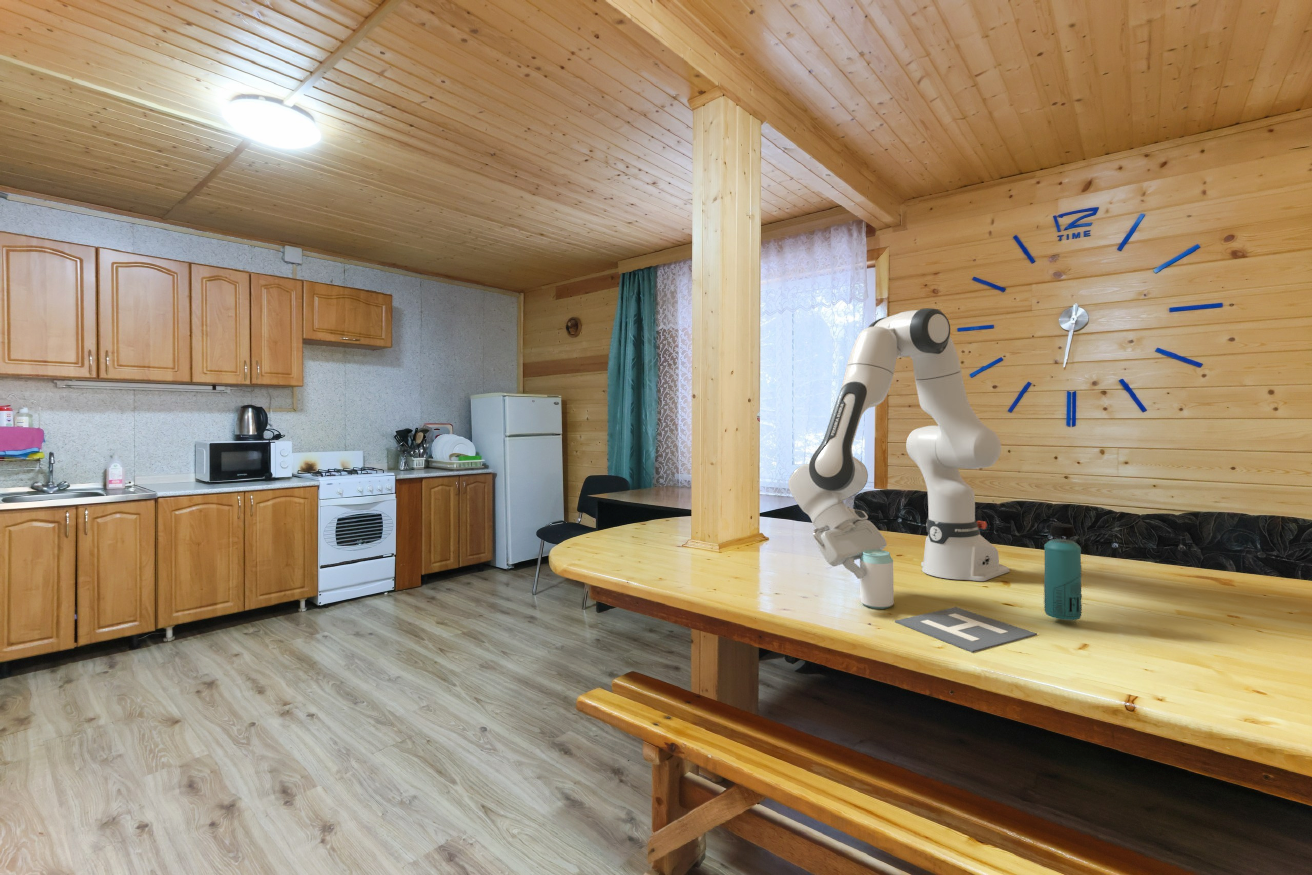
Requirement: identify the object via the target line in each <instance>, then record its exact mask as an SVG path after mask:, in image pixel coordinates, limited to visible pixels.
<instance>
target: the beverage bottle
mask: <svg viewBox="0 0 1312 875" xmlns="http://www.w3.org/2000/svg"><path fill="white" fill-rule="evenodd" d="M1049 534H1050V535H1052V536H1054V537H1055V536H1056V537H1067V538H1069V537H1070V538H1071V537H1074V536H1075V526H1074V525H1073V524H1069V523H1068V524H1067V523H1051V524H1050V529H1049ZM1043 549H1044V575H1043V602H1044V604H1043V605H1044V606H1043V609H1044V613H1045V614H1046V616H1049V617H1052V618H1055V619H1058V620H1064V621H1077V620H1081V617H1082V614H1083V605H1082V598H1083V594H1082V588H1083V587H1082V577H1083V576H1082V566H1083V564H1082V561H1081V560H1082V559H1081V558H1082V548H1081V546H1080V545H1079V544H1078V543H1077V542H1076V541H1073V540H1070V539H1061V538H1058V539H1057V538H1054V539H1050V540H1048V541H1047V542H1046V543H1045V544H1044V545H1043Z"/></svg>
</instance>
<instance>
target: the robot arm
mask: <svg viewBox="0 0 1312 875" xmlns="http://www.w3.org/2000/svg"><path fill="white" fill-rule="evenodd" d="M898 358H910V359H911V360H912V368H913V369H912V370H913V376H914V381H915V388H916V392H917V397H918V403H919V406H920V408H921V409H922V411H923V412H924V413H926V414H928V415H929V416H930V417H932V419H933V420H934V421H935V423H936V424H937V425H927V426H922V427H918V428H915V429H913V430H912V431H911V432H909V434H908V436H907V439H906V442H905V445H906V446H905V448H906V453H907V454H908V457H909V458H910V459H911V460H912V461H913V462H914V463H915V464H916V465H917V467H918V468H919V471H920V472H921V475H922V476H923V479H924V483H925V486H926V492H927V506H928V507H927V508H928V511H927V513H928V517H927V518H926V524H925V525H926V532H927V536H926V538H925V544H924V554H923V560H922V561H921V564H920V566H921V567H922V568H921V570H922V572H923V573H924V574H927V575H929V576H932V577H937V578H941V579H942V578H943V579H947V580H965V581H975V582H976V581H977V582H985V581H988V580H991V579H993V578H996V577H999V576H1002V575H1004V574H1007V573H1010V568H1009V566H1006V565H1004V564H1001V563H1000V558H999V552H998V549H997V547H996V546H994V545H993V544H992V543H990V541H988V540H987V539H985V537H983V535H981V532H980V529H981V530H985V529H986V528H987V526H988V524H987V521H983V520H976V516H975V515H976V495H975V494H976V493H975V491H974V489H973V487H971V486H970V485H969V484H968V483H967V482H966V481H965V480H964V479H963V478H962V475H961V474H960V470H959V469H962V470H963V469H965V470H976V469H985V468H990V467H992V466H993V465H994V464H996V462H997V461H998V460H999V458H1000V456H1001V454H1002V442H1001V440H1000V437H999V436H998V434H997V433H996V432H995V431H994V430H992V429H991V428H989V427H988V426H986V425H985V424H984V422H982V421H981V419H980V418H979V417H978V416H977V414H976V413H975V411H974V409H973V407H972V406H971V404H970V401H969V399H968V396H967V391H966V387H965V382H964V377H963V372H962V367H961V362H960V359H959V356H958V352H957V349H956V346H955V343H954V341H953V339H952V337H951V324H950V322H949V319H948V317H947V316H946V315H945V314H944V312H942V310H940V309H937V308H933V307H932V308H931V307H927V308H925V307H923V308H920V309H914V310H906V311H901V312H899V313H896V314H892V315H890V316H887V317H881V318H878V319H877V320H875V321H873V322H872V323H871V324H869V325H868V327H866V328H864V329H862V330H861V331H860V332H859V334H858V336H857V337H856V339H855V341H854V344H853V346H852V349H851V351H850V354H849V357H848V359H847V360H848V361H847V364H846V367H845V373H844V376H843V380H842V383H841V386H840V390H839V393H838V396H837V398H836V401H835V404H834V407H833V410H832V412H831V416H830V419H829V422H828V425H827V428H826V431H825V434H824V437H823V439H822V441H821V443H820V445H819V446H818V447H817V449H816V450H815V451H814V453H813V454H812V456H811V458H810V461H809V463H804V464H802V465H800V466H798V467H797V468H796V469H795V470H793V472H792V473H791V475H790V477H789V479H788V482H787V484H788V485H787V486H788V489H789V491H790V493H791V496H792V497H793V499H794V500H795V502H796V503H797V505H798V507H799V508H800V509H801V511H802V512H803V513H805V514H807V515H808V517H809V518H810V520H811V522H812V525H813V526H814V527H815V529H814V530H813V533H812V534H813V535H812V537H813V539H814V540H815V542H816V547H817V548H818V549H819V552H820V553H821V555H822V556H823V559H825V562H826V563H827V564H829V565H831V566H832V567H838V566H841V565H843V566H844V568H845V569H847V571H850V572H851V573H852V574H853V575H854V576H855V577H856V578H857V579H859V580H860V578H863V577H864V576H865V575H866V572H865V571H864V569H863V568H862V567H861V568H860V565H858V564H856V563H855V561H857V560H860V558H861V556H862V555H863V551H866V550H884V549H885V548H886V547H887V546H888V545H887V544H888V542H887V541H886V538H885V537H884V535H882V533H881V531H879V529H878V528H877V527H876V525H874V523H873V522H871V520H868V518H869V516H868V514H867V513H866V512H865V511H863V510H860V509H856V508H851V507H850V506H847V505H846V504H845V503H844V501H845V500H847V499H849V498H851V497H853V496H854V495H856V494H858V493H859V492H861V491H862V490H863V489H864V488H865V487H866V484H867V482H868V479H869V474H868V469H867V467H866V464H864V463H863V462H862V461H861V460H860V459H858V458H856V457H855V456H854V454H853V444H854V441H855V438H856V434H857V432H858V429H859V425H860V421H861V418H862V416H863V414H864V413H865V412H866V411H867V410H869V409H871V408H873V407H876V406H879V405H880V404H881V403H883V402H884V401H885V399H886V397H887V395H888V394H889V390H890V389H891V385H892V384H893V378H894V374H895V370H896V369H895V368H896V362H897V359H898Z"/></svg>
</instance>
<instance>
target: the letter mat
mask: <svg viewBox="0 0 1312 875" xmlns="http://www.w3.org/2000/svg"><path fill="white" fill-rule="evenodd" d="M894 623H896V624H899V625H901V626H904V627H906V628H909V629H911V630H915V631H917V632H919V633H921V634H924V635H927V636H929V637H932V638H934V639H937V640H939V641H941V642H944V643H947V644H950V645H952V646H955V647H957V648H958V649H959V648H960V649H962V650H965V651H967V652H970V653H975V652H980V651H984V650H987V649H990V648H993V647H997V646H1002V645H1005V644H1008V643H1012V642H1016V641H1019V640H1024V639H1027V638H1031V637H1034V636H1037V635H1038V633H1037V632H1034V631H1032V630H1031V631H1030V630H1028V629H1025V628H1021V627H1018V626H1015V625H1013V624H1009V623H1007V622H1003V621H1000V620H997V619H994V618H991V617H988V616H985V615H982V614H978V613H975V612H973V611H970V610H966V609H963V608H961V607H957V606H953V607H950V608H945V609H940V610H936V611H931V612H927V613H923V614H918V615H914V616H909V617H905V618H900V619H896V620H894Z"/></svg>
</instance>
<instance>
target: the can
mask: <svg viewBox="0 0 1312 875" xmlns="http://www.w3.org/2000/svg"><path fill="white" fill-rule="evenodd" d="M891 556H892V555H891V553H890V552H889V551H887V550H884V549H883V550H866V551H863V555H862V556H861V558H860V559H859V567H860V568H861V567H862V568H863V569H864V571H865V572H866V575H865V576H864V577H863V578H860V579H859V581H860V582H859V589H860V590H859V596H860V600H859V602H861V604H862V605H864V606H865V607H867V608H870V609H875V610H884V609H885V610H886V609H888V608H890V607H892V606H893V605H894V601H895V600H894V599H895V598H894V560H893V558H892V557H891Z"/></svg>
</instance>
